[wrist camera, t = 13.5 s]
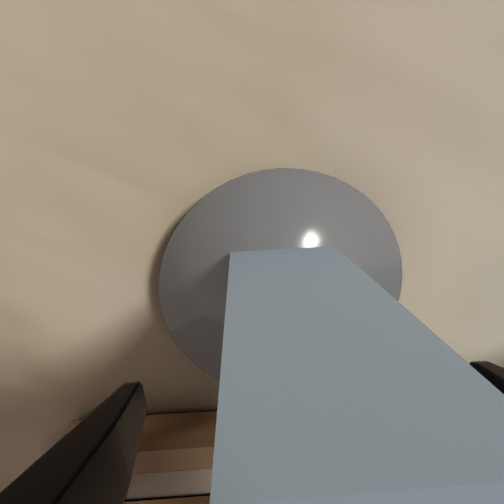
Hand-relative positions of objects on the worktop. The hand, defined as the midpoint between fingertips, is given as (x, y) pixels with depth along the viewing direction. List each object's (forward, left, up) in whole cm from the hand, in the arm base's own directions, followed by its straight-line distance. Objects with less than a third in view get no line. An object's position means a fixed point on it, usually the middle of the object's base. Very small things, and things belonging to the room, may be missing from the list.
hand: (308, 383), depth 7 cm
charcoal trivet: (0, 0, -6) cm, 6 cm away
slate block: (0, 0, -5) cm, 5 cm away
